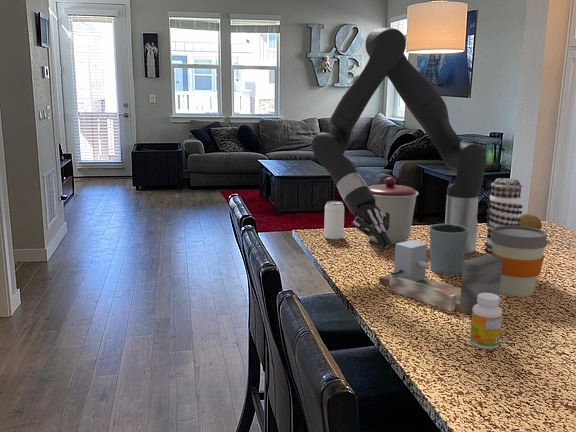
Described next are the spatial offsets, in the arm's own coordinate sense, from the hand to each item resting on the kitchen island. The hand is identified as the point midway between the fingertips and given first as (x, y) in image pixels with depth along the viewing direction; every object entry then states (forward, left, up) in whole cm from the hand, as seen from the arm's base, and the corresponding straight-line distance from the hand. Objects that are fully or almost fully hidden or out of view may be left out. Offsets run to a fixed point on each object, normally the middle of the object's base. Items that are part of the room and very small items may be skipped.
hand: (387, 246), depth 146 cm
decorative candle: (-31, +14, -9) cm, 35 cm away
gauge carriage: (+2, +9, -7) cm, 11 cm away
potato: (-71, 0, -9) cm, 72 cm away
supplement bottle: (+15, +39, -9) cm, 42 cm away
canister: (-29, -25, -9) cm, 40 cm away
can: (-18, -39, -9) cm, 44 cm away
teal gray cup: (-18, +6, -9) cm, 21 cm away
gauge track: (0, +16, -8) cm, 18 cm away
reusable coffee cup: (-18, +26, -9) cm, 33 cm away
